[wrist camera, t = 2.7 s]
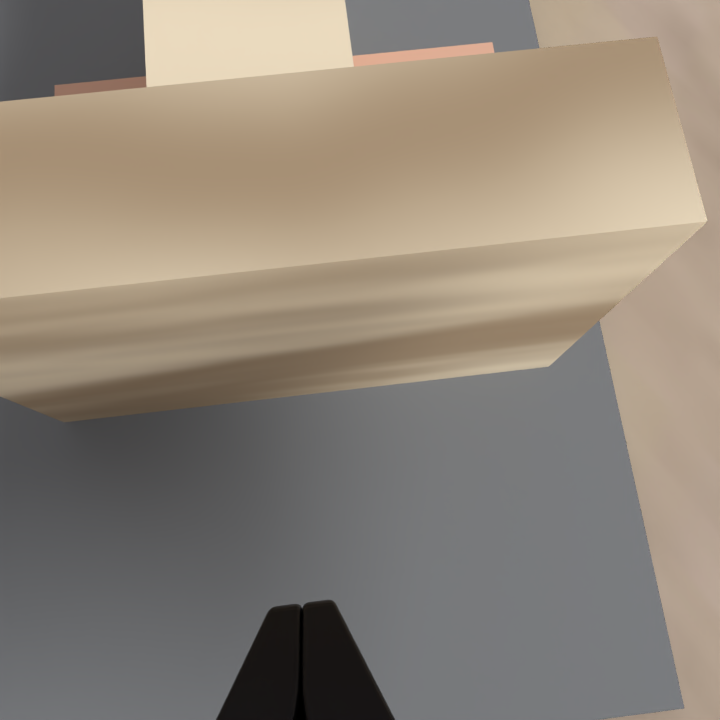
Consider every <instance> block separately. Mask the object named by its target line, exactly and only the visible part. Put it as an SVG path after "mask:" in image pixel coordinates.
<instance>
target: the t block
mask: <svg viewBox="0 0 720 720" xmlns="http://www.w3.org/2000/svg"><path fill="white" fill-rule="evenodd" d="M143 17H144V40H145V63H146V86H147V87H143V88H133V89H123V90H113V91H103V92H93V93H83V94H73V95H63V96H53V97H42V98H32V99H22V100H12V101H2V102H0V397H3V398H5V399H7V400H10V401H12V402H15V403H17V404H20V405H22V406H25V407H27V408H30V409H32V410H35V411H37V412H40V413H42V414H45V415H47V416H49V417H52V418H54V419H57V420H59V421H62V422H71V421H80V420H89V419H97V418H106V417H115V416H124V415H132V414H141V413H150V412H158V411H167V410H176V409H185V408H193V407H202V406H211V405H219V404H228V403H237V402H245V401H254V400H263V399H272V398H280V397H289V396H298V395H306V394H315V393H324V392H333V391H341V390H350V389H359V388H367V387H376V386H385V385H393V384H402V383H411V382H420V381H428V380H437V379H446V378H454V377H463V376H472V375H480V374H489V373H498V372H507V371H515V370H524V369H533V368H541V367H549V366H550V365H551V364H552V363H553V362H554V361H555V360H557V359H558V358H559V357H560V356H561V355H562V354H563V353H564V352H565V351H566V350H567V349H569V348H570V347H571V346H572V345H573V344H574V343H575V342H576V341H577V340H578V339H580V338H581V337H582V336H583V335H584V334H585V333H586V332H587V331H588V330H589V329H590V328H592V327H593V326H594V325H595V324H596V323H597V322H598V321H599V320H600V319H601V318H602V317H604V316H605V315H606V314H607V313H608V312H609V311H610V310H611V309H612V308H613V307H615V306H616V305H617V304H618V303H619V302H620V301H621V300H622V299H623V298H624V297H625V296H627V295H628V294H629V293H630V292H631V291H632V290H633V289H634V288H635V287H636V286H637V285H639V284H640V283H641V282H642V281H643V280H644V279H645V278H646V277H647V276H648V275H650V274H651V273H652V272H653V271H654V270H655V269H656V268H657V267H658V266H659V265H660V264H662V263H663V262H664V261H665V260H666V259H667V258H668V257H669V256H670V255H671V254H672V253H674V252H675V251H676V250H677V249H678V248H679V247H680V246H681V245H682V244H683V243H685V242H686V241H687V240H688V239H689V238H690V237H691V236H692V235H693V234H694V233H695V232H697V231H698V230H699V229H700V228H701V227H702V226H703V225H704V224H705V223H706V222H707V218H706V214H705V210H704V207H703V203H702V199H701V196H700V192H699V188H698V185H697V181H696V177H695V174H694V170H693V166H692V163H691V159H690V155H689V152H688V148H687V144H686V141H685V137H684V133H683V130H682V126H681V122H680V119H679V115H678V111H677V108H676V104H675V100H674V97H673V93H672V89H671V86H670V82H669V78H668V75H667V71H666V67H665V64H664V60H663V56H662V53H661V49H660V45H659V42H658V38H657V37H649V38H638V39H628V40H618V41H608V42H598V43H588V44H578V45H568V46H558V47H548V48H537V49H527V50H517V51H507V52H497V53H487V54H477V55H467V56H457V57H447V58H436V59H426V60H416V61H406V62H396V63H386V64H376V65H366V66H356V67H354V64H353V56H352V49H351V41H350V34H349V27H348V19H347V12H346V5H345V0H143Z"/></svg>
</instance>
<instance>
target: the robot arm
mask: <svg viewBox="0 0 720 720" xmlns="http://www.w3.org/2000/svg"><path fill="white" fill-rule="evenodd" d="M216 720H395V718H394V716H393V714H392V712H391V710H390V708H389V706H388V704H387V702H386V700H385V698H384V697H383V695H382V693H381V691H380V689H379V687H378V685H377V683H376V681H375V679H374V677H373V675H372V673H371V671H370V669H369V667H368V665H367V663H366V661H365V659H364V657H363V655H362V654H361V652H360V650H359V648H358V646H357V644H356V642H355V640H354V638H353V636H352V634H351V632H350V630H349V628H348V626H347V624H346V622H345V620H344V618H343V616H342V614H341V612H340V611H339V609H338V607H337V605H336V603H335V602H334V601H333V600H321V601H313V602H307V603H305V604H304V606H303V608H302V606H301V605H299V604H289V605H281V606H275V607H272V608H271V609H270V610H269V611H268V612H267V614H266V616H265V618H264V620H263V622H262V625H261V627H260V629H259V631H258V633H257V635H256V637H255V639H254V641H253V643H252V645H251V647H250V650H249V652H248V654H247V656H246V658H245V660H244V662H243V664H242V666H241V668H240V670H239V672H238V675H237V677H236V679H235V681H234V683H233V685H232V687H231V689H230V691H229V693H228V695H227V698H226V700H225V702H224V704H223V706H222V708H221V710H220V712H219V714H218V716H217V718H216Z"/></svg>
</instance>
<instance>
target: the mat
mask: <svg viewBox="0 0 720 720" xmlns="http://www.w3.org/2000/svg"><path fill="white" fill-rule="evenodd" d="M345 5H346V12H347V19H348V27H349V34H350V41H351V49H352V56H353V64H354V67H356V66H366V65H376V64H386V63H396V62H406V61H416V60H426V59H436V58H447V57H457V56H467V55H477V54H487V53H497V52H507V51H517V50H527V49H537V48H539V44H538V40H537V35H536V31H535V26H534V22H533V17H532V13H531V8H530V3H529V0H345ZM143 87H147V86H146V63H145V40H144V17H143V0H0V102H2V101H12V100H22V99H32V98H42V97H53V96H63V95H73V94H83V93H93V92H103V91H113V90H123V89H133V88H143ZM321 600H333V601H334V602H335V603H336V605H337V607H338V609H339V611H340V612H341V614H342V616H343V618H344V620H345V622H346V624H347V626H348V628H349V630H350V632H351V634H352V636H353V638H354V640H355V642H356V644H357V646H358V648H359V650H360V652H361V654H362V655H363V657H364V659H365V661H366V663H367V665H368V667H369V669H370V671H371V673H372V675H373V677H374V679H375V681H376V683H377V685H378V687H379V689H380V691H381V693H382V695H383V697H384V698H385V700H386V702H387V704H388V706H389V708H390V710H391V712H392V714H393V716H394V718H395V720H600V719H608V718H615V717H623V716H630V715H638V714H645V713H653V712H660V711H668V710H675V709H683V708H684V705H683V700H682V696H681V691H680V686H679V682H678V677H677V673H676V668H675V664H674V659H673V655H672V650H671V645H670V641H669V636H668V632H667V627H666V623H665V618H664V614H663V609H662V604H661V600H660V595H659V591H658V586H657V582H656V577H655V573H654V568H653V564H652V559H651V554H650V550H649V545H648V541H647V536H646V532H645V527H644V523H643V518H642V513H641V509H640V504H639V500H638V495H637V491H636V486H635V482H634V477H633V472H632V468H631V463H630V459H629V454H628V450H627V445H626V441H625V436H624V431H623V427H622V422H621V418H620V413H619V409H618V404H617V400H616V395H615V390H614V386H613V381H612V377H611V372H610V368H609V363H608V359H607V354H606V349H605V345H604V340H603V336H602V331H601V327H600V322H599V321H598V322H597V323H596V324H595V325H594V326H593V327H592V328H590V329H589V330H588V331H587V332H586V333H585V334H584V335H583V336H582V337H581V338H580V339H578V340H577V341H576V342H575V343H574V344H573V345H572V346H571V347H570V348H569V349H567V350H566V351H565V352H564V353H563V354H562V355H561V356H560V357H559V358H558V359H557V360H555V361H554V362H553V363H552V364H551V365H550V366H549V367H541V368H533V369H524V370H515V371H507V372H498V373H489V374H480V375H472V376H463V377H454V378H446V379H437V380H428V381H420V382H411V383H402V384H393V385H385V386H376V387H367V388H359V389H350V390H341V391H333V392H324V393H315V394H306V395H298V396H289V397H280V398H272V399H263V400H254V401H245V402H237V403H228V404H219V405H211V406H202V407H193V408H185V409H176V410H167V411H158V412H150V413H141V414H132V415H124V416H115V417H106V418H97V419H89V420H80V421H71V422H62V421H59V420H57V419H54V418H52V417H49V416H47V415H45V414H42V413H40V412H37V411H35V410H32V409H30V408H27V407H25V406H22V405H20V404H17V403H15V402H12V401H10V400H7V399H5V398H3V397H0V720H216V718H217V716H218V714H219V712H220V710H221V708H222V706H223V704H224V702H225V700H226V698H227V695H228V693H229V691H230V689H231V687H232V685H233V683H234V681H235V679H236V677H237V675H238V672H239V670H240V668H241V666H242V664H243V662H244V660H245V658H246V656H247V654H248V652H249V650H250V647H251V645H252V643H253V641H254V639H255V637H256V635H257V633H258V631H259V629H260V627H261V625H262V622H263V620H264V618H265V616H266V614H267V612H268V611H269V610H270V609H271V608H272V607H275V606H281V605H289V604H299V605H301V606H302V608H303V606H304V604H305V603H307V602H313V601H321Z"/></svg>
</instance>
